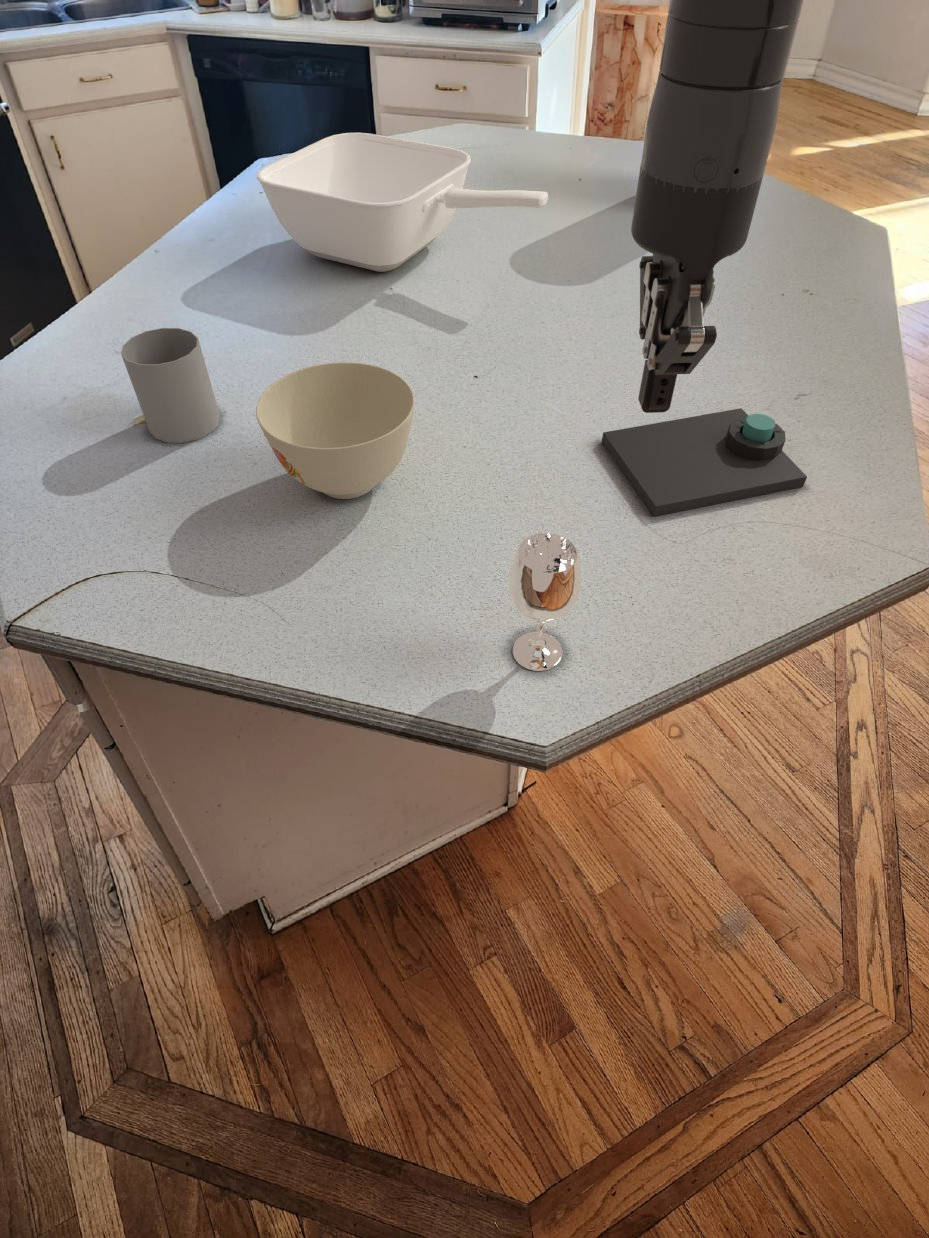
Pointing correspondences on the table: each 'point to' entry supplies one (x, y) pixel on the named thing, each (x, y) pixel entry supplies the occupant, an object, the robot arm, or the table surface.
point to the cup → (171, 384)
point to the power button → (758, 428)
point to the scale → (700, 462)
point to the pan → (375, 197)
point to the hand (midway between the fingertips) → (653, 407)
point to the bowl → (338, 425)
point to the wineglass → (543, 594)
